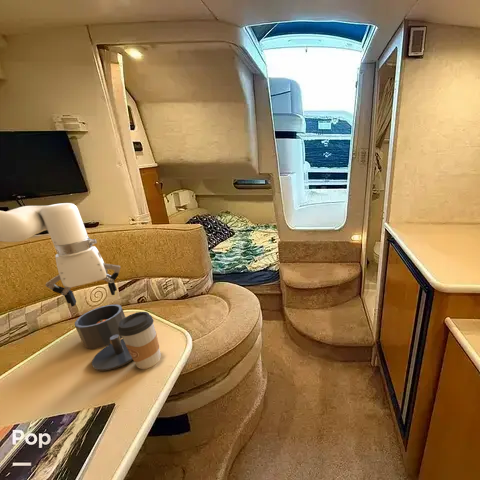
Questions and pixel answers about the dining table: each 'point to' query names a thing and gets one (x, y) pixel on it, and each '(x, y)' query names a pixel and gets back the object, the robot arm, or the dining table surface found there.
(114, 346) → the lid
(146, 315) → the coffee cup
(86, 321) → the pot
